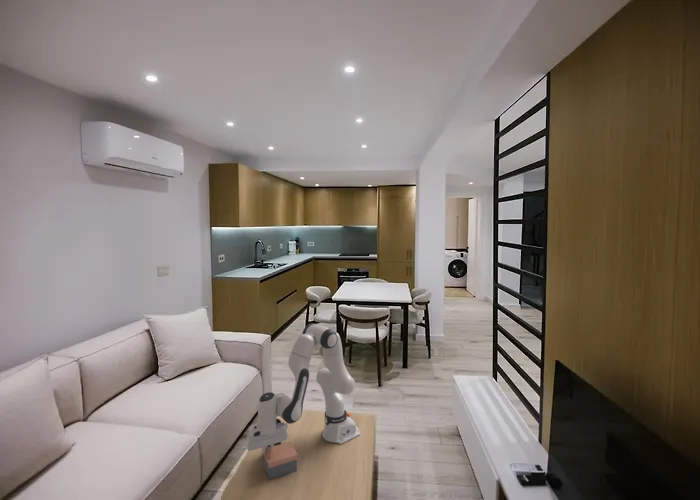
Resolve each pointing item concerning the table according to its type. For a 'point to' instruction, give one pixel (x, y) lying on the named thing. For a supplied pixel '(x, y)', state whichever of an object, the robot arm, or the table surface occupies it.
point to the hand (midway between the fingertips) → (267, 452)
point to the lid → (280, 454)
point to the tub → (280, 469)
